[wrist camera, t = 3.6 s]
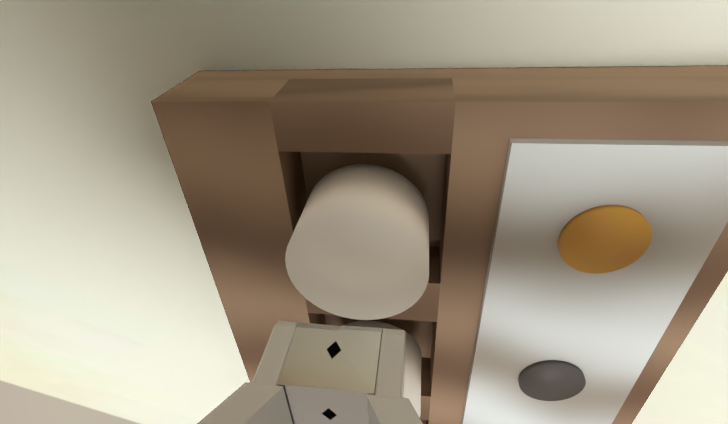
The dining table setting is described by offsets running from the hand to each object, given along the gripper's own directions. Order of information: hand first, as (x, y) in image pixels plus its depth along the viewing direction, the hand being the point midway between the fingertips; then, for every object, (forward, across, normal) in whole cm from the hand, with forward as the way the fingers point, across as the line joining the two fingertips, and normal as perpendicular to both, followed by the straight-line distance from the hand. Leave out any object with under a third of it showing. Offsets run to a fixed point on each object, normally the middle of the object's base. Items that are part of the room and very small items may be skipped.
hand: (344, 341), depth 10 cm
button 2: (+5, 0, 0) cm, 5 cm away
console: (+8, -2, +7) cm, 10 cm away
